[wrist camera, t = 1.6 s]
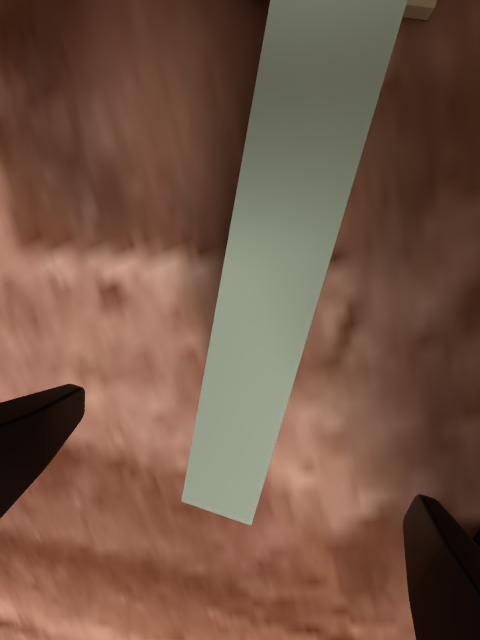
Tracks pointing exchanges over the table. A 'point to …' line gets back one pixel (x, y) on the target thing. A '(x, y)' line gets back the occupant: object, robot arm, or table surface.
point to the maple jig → (419, 9)
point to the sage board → (284, 232)
